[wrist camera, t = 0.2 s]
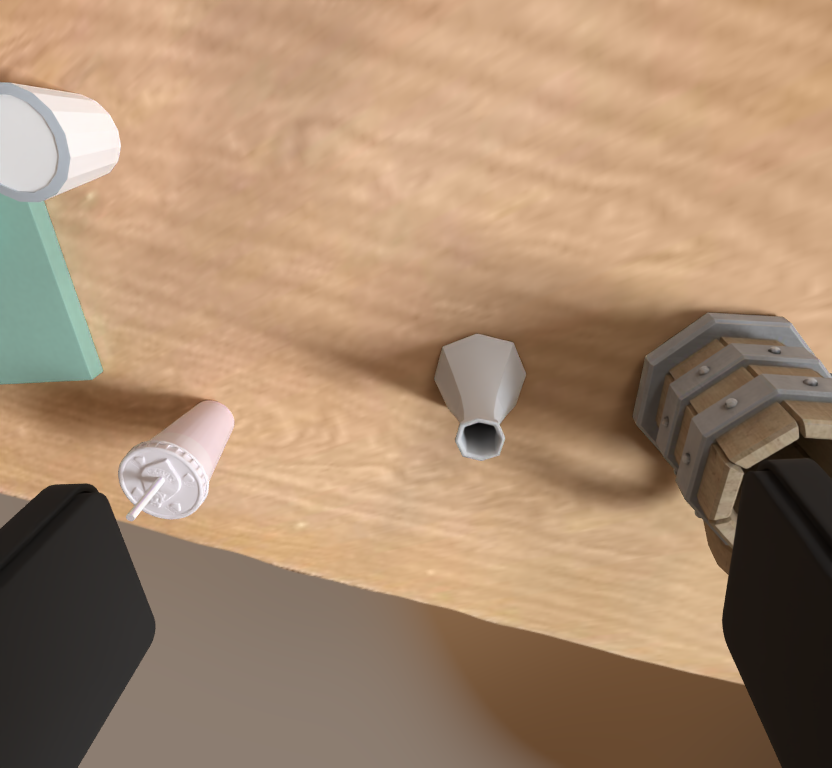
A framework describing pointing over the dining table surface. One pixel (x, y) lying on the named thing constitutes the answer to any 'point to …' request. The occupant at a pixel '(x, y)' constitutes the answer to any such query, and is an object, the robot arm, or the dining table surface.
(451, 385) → the flask
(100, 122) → the white tapered cup
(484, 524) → the dining table surface
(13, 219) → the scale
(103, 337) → the dining table surface
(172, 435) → the smoothie
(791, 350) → the tankard
